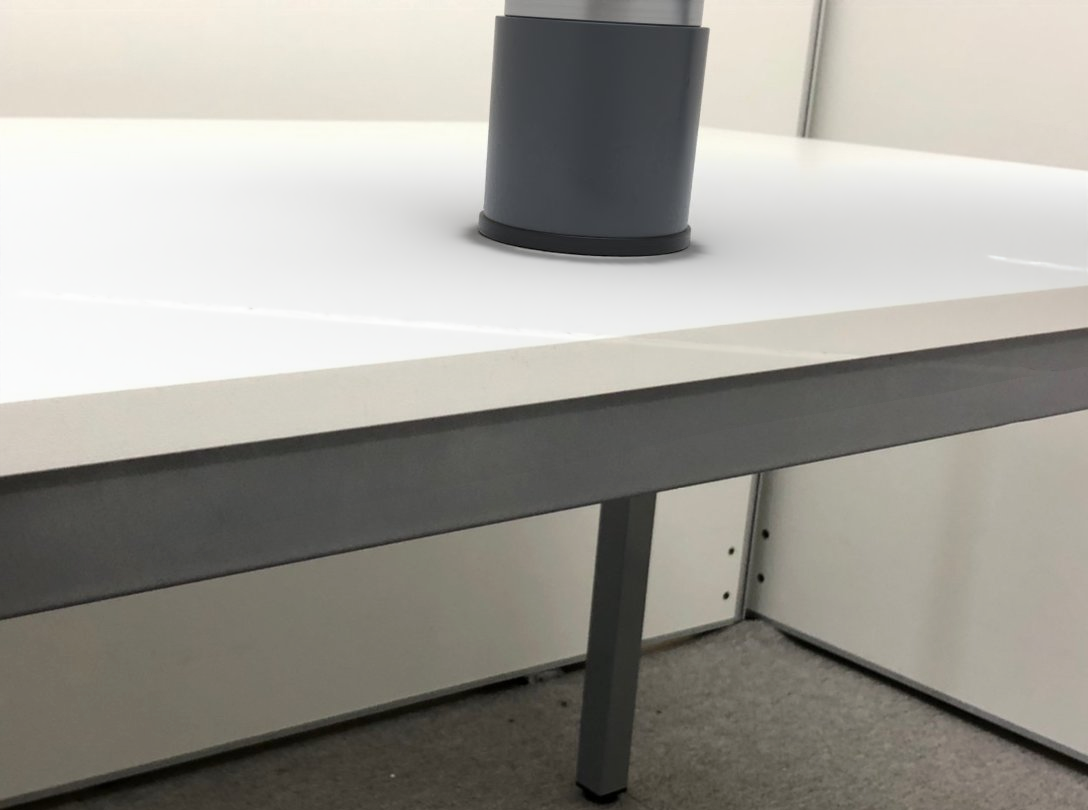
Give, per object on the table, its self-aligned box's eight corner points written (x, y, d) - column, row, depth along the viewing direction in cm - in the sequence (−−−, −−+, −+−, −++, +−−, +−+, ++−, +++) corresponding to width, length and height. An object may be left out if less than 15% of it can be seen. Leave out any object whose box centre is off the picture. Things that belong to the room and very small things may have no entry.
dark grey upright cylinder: (683, 226, 69) (711, -17, 65) (695, 262, 59) (729, -21, 55) (487, 212, 70) (502, -28, 66) (467, 246, 60) (484, -34, 56)
